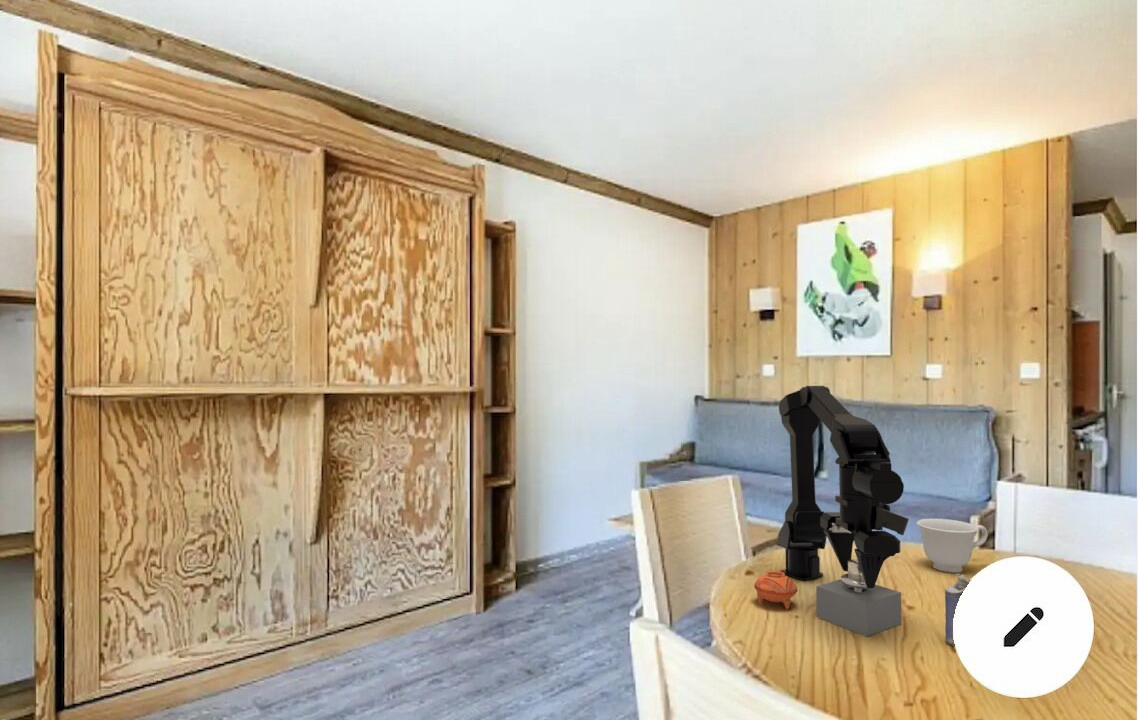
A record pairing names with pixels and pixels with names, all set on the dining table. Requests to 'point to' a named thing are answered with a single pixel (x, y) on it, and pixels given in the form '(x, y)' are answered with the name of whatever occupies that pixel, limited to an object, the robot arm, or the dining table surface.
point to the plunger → (854, 576)
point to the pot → (775, 587)
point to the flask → (953, 605)
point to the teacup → (949, 542)
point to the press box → (859, 607)
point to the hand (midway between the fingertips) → (857, 579)
